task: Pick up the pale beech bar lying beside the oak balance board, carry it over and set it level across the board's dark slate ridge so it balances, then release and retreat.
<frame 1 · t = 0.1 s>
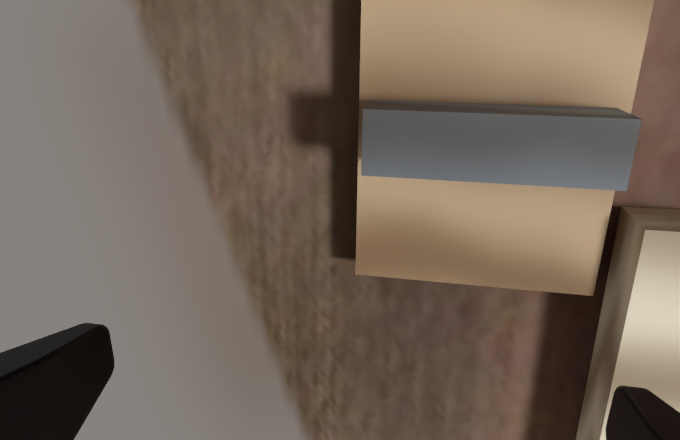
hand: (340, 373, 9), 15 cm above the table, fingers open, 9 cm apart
balance board: (483, 128, 21), on the table
rod: (626, 348, 24), on the table
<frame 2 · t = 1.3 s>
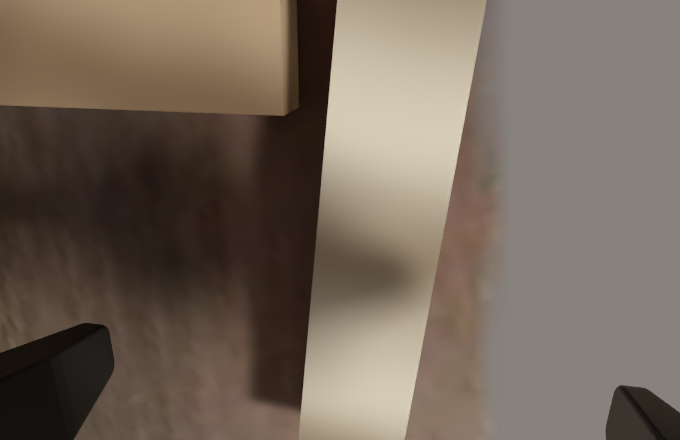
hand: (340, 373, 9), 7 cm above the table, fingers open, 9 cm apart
rod: (385, 226, 15), on the table
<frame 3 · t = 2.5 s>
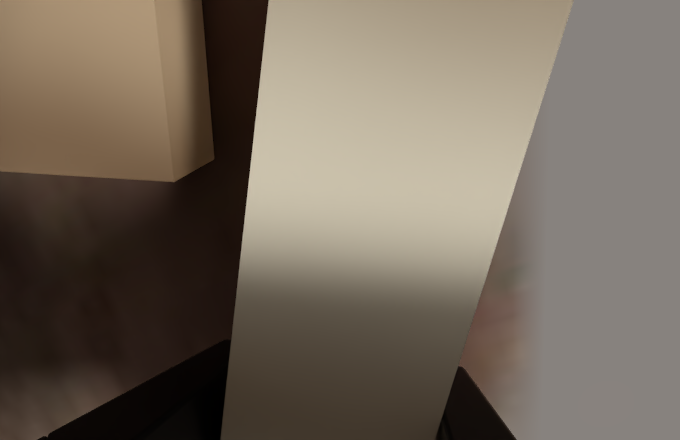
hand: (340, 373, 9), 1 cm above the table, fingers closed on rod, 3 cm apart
rod: (352, 334, 10), on the table, touching gripper
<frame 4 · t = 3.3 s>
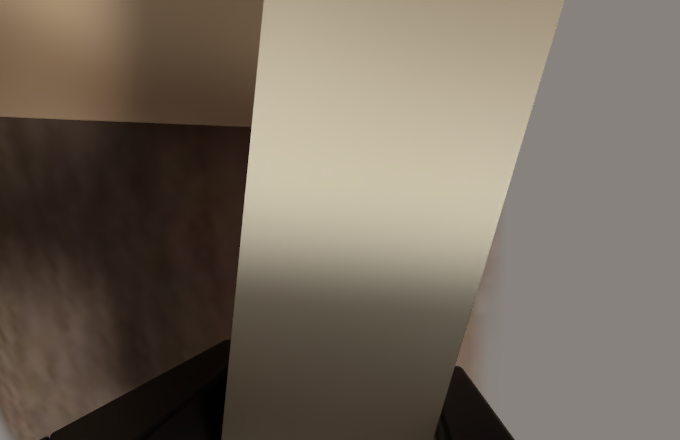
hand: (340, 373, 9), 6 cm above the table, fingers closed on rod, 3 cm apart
rod: (353, 333, 10), point 5 cm above the table, touching gripper
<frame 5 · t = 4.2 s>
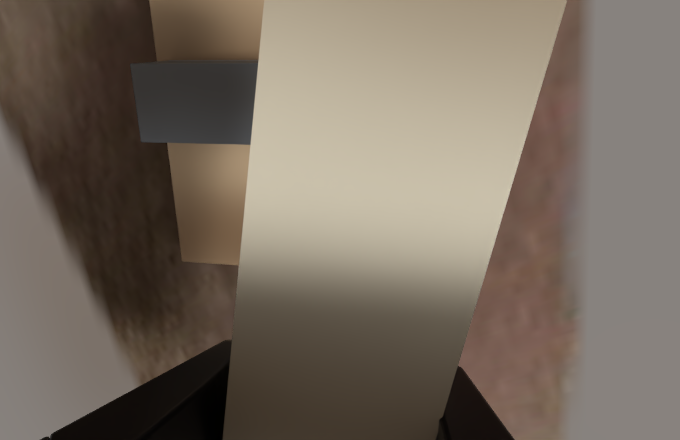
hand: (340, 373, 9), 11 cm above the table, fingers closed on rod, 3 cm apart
balance board: (306, 92, 19), on the table
rod: (355, 334, 10), point 10 cm above the table, touching gripper
when the fingers open (5 cm above the table, at t = 5.8 s): rod stays where it is, resting on balance board.
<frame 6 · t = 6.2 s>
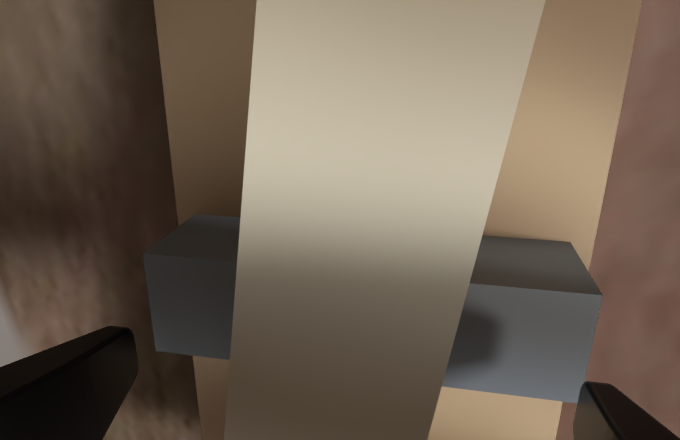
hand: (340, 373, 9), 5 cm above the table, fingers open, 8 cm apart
balance board: (376, 248, 14), on the table
rod: (353, 325, 10), point 4 cm above the table, touching balance board
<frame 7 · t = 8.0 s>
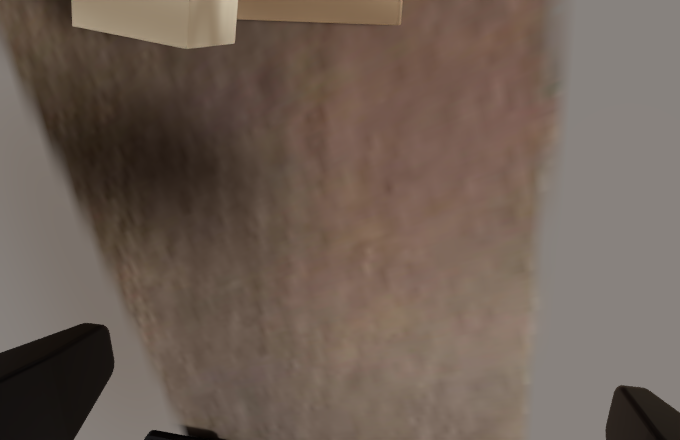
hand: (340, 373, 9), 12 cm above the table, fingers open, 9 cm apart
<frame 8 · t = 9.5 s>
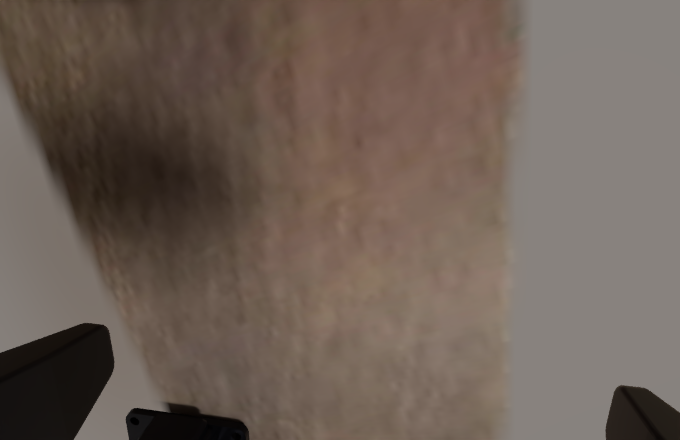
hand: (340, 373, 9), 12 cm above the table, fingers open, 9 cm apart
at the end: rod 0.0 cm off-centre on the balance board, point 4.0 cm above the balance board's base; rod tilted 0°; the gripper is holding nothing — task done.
